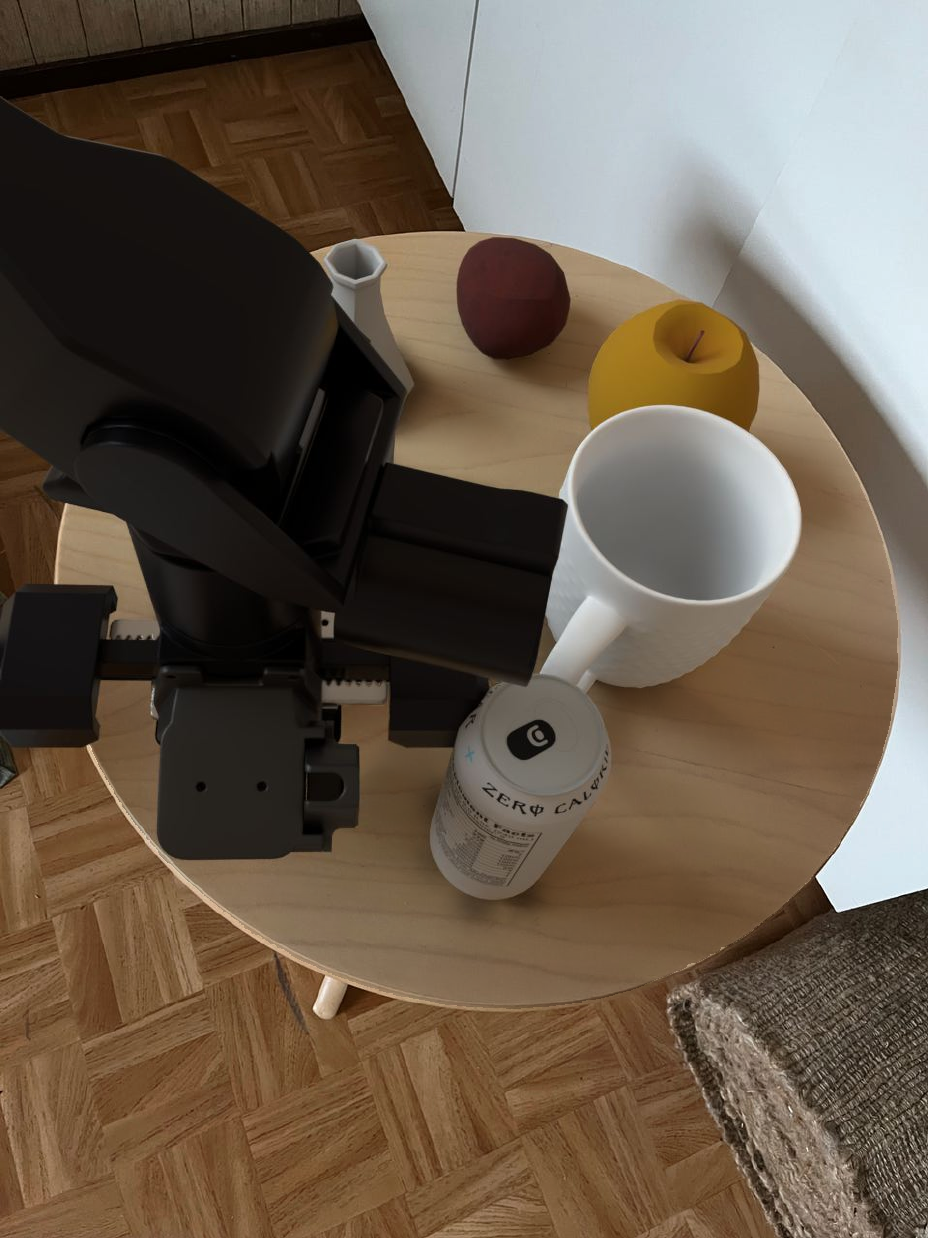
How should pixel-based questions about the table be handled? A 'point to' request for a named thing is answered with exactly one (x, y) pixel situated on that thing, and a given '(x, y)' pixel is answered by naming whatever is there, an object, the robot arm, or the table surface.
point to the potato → (511, 297)
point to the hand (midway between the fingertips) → (262, 743)
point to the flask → (365, 298)
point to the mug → (665, 545)
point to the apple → (676, 365)
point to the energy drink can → (518, 785)
